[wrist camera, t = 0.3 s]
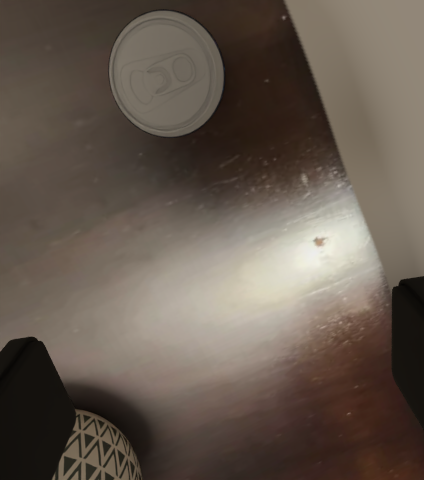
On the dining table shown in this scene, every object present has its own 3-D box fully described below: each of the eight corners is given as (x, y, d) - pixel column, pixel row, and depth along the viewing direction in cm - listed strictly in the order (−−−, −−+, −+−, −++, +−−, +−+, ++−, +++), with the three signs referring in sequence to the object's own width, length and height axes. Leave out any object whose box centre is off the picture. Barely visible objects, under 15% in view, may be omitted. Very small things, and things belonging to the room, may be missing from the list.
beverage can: (134, 54, 27) (77, 36, 16) (206, 22, 26) (198, -20, 15) (165, 129, 29) (133, 158, 18) (232, 102, 28) (242, 116, 17)
